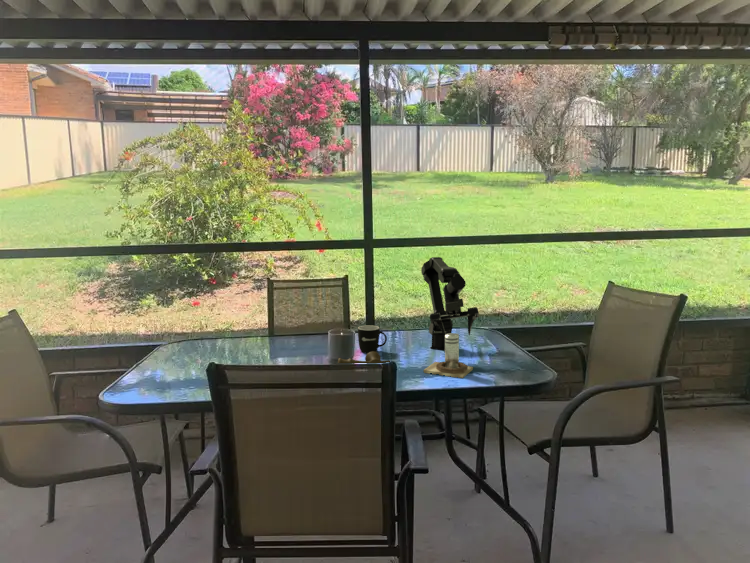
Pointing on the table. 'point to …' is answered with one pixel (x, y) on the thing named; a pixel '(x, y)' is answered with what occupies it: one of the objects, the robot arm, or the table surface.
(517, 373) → the table surface
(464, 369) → the collar
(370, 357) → the kendama
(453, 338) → the cylinder
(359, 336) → the mug
